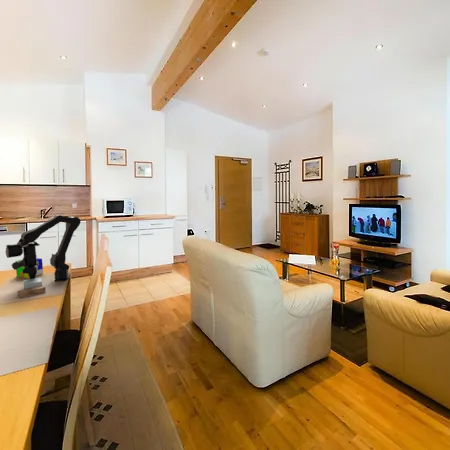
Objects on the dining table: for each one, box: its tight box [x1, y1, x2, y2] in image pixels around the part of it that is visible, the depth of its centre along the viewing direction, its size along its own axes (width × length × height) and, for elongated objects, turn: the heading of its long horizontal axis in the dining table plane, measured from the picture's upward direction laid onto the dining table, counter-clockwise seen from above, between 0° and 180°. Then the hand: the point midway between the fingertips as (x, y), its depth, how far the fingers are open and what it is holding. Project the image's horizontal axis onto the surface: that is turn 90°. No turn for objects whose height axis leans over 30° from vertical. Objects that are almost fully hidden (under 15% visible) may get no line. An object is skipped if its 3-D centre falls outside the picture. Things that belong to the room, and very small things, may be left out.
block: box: [22, 277, 43, 290], centre depth 153 cm, size 8×9×5 cm
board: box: [16, 284, 46, 299], centre depth 146 cm, size 11×5×3 cm, turn 139°
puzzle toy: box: [14, 257, 44, 279], centre depth 180 cm, size 10×10×10 cm
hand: (32, 281), depth 159 cm, fingers closed
